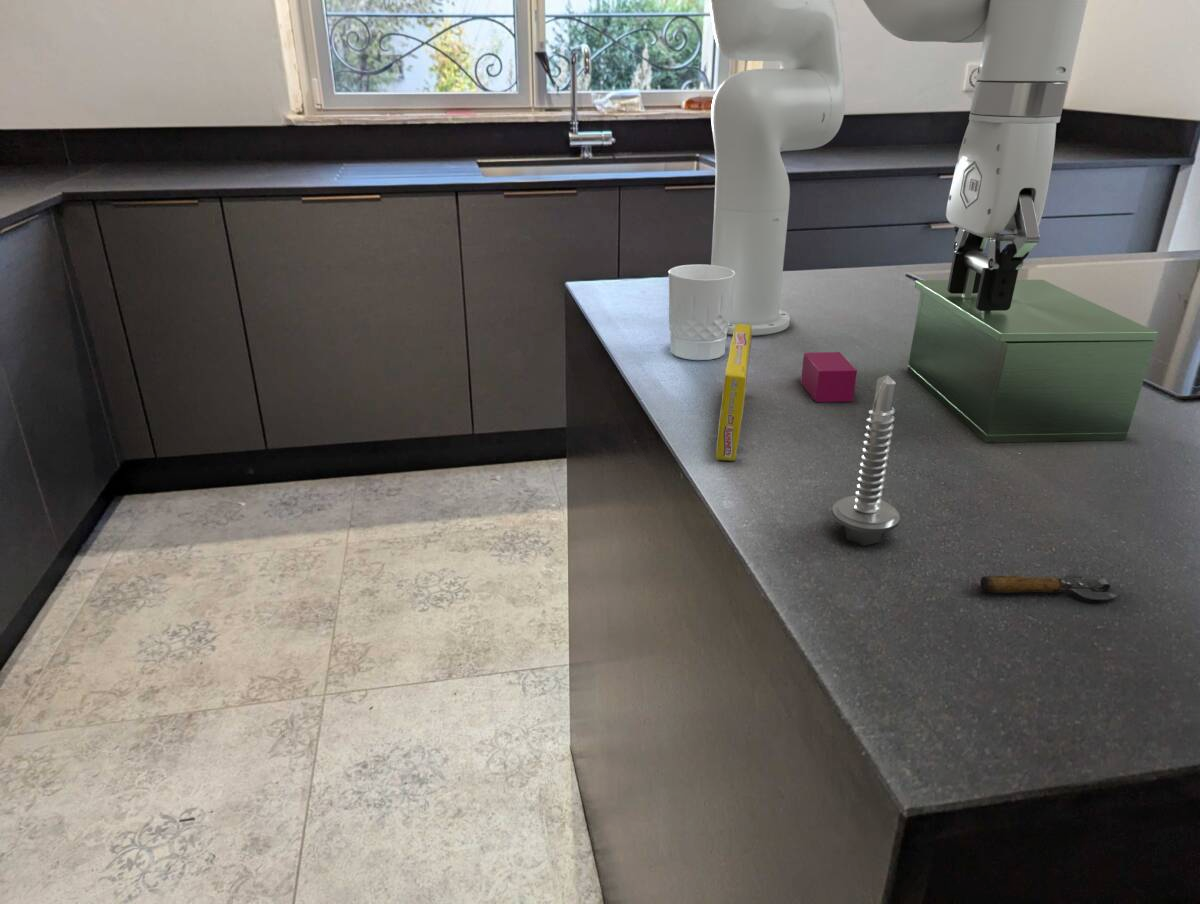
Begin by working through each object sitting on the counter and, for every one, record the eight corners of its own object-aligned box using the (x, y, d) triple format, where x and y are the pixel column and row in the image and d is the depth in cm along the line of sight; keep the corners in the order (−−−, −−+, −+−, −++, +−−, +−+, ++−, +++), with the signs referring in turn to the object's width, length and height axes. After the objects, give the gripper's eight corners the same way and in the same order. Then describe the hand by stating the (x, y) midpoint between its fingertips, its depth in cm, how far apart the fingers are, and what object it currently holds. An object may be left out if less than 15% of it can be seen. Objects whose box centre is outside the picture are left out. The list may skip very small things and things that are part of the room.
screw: (880, 561, 59) (818, 538, 62) (905, 534, 63) (845, 514, 65) (909, 392, 54) (839, 376, 56) (935, 373, 57) (868, 358, 60)
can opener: (983, 595, 55) (986, 581, 55) (973, 576, 57) (976, 562, 57) (1125, 606, 54) (1130, 591, 54) (1110, 585, 56) (1115, 571, 56)
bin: (985, 442, 78) (1007, 343, 73) (907, 371, 95) (921, 288, 91) (1125, 440, 78) (1155, 341, 74) (1021, 370, 96) (1041, 287, 92)
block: (815, 402, 87) (819, 371, 85) (800, 382, 92) (803, 352, 91) (852, 401, 87) (857, 370, 86) (835, 381, 92) (839, 351, 91)
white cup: (657, 358, 100) (660, 276, 95) (675, 339, 106) (678, 262, 102) (722, 365, 97) (727, 282, 93) (735, 346, 104) (741, 267, 100)
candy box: (739, 463, 74) (746, 376, 70) (715, 461, 74) (720, 374, 71) (746, 397, 88) (752, 322, 84) (726, 396, 88) (731, 321, 85)
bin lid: (998, 342, 73) (1012, 279, 71) (914, 287, 91) (922, 235, 89) (1155, 340, 74) (1175, 278, 71) (1041, 286, 92) (1053, 235, 89)
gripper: (936, 99, 82) (907, 280, 89) (1024, 109, 66) (979, 327, 74) (1010, 99, 82) (975, 279, 90) (1115, 109, 66) (1060, 326, 74)
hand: (977, 299), depth 82 cm, fingers closed on bin lid, 5 cm apart
